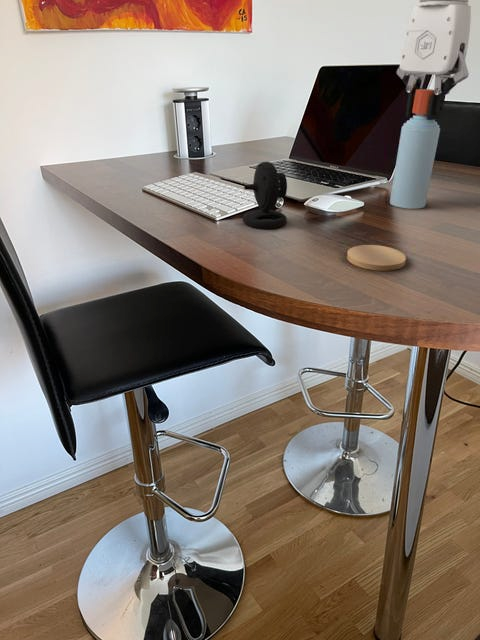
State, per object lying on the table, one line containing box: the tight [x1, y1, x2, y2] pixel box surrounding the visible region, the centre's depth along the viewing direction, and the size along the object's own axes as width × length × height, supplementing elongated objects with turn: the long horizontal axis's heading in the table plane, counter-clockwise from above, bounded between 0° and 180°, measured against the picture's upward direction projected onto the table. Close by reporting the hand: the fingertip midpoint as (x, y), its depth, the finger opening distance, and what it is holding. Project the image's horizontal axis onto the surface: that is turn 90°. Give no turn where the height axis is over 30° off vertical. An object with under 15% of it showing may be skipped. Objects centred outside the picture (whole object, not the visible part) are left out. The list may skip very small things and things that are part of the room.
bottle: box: [389, 114, 441, 210], centre depth 92 cm, size 7×7×20 cm
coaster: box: [346, 244, 407, 272], centre depth 70 cm, size 8×8×1 cm
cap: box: [412, 88, 434, 115], centre depth 88 cm, size 4×4×4 cm
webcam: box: [242, 161, 288, 230], centre depth 82 cm, size 8×8×10 cm
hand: (422, 116), depth 89 cm, fingers closed on cap, 3 cm apart
